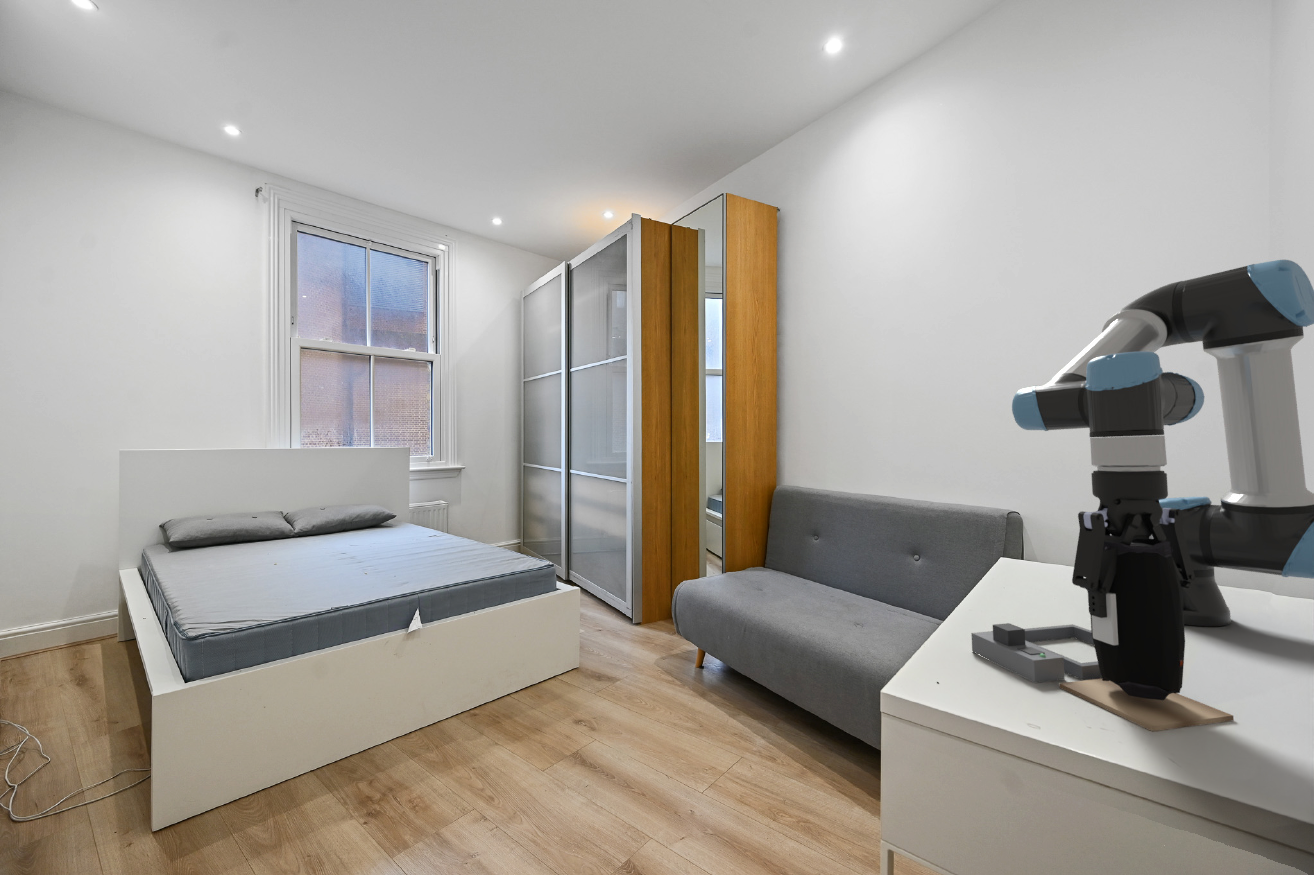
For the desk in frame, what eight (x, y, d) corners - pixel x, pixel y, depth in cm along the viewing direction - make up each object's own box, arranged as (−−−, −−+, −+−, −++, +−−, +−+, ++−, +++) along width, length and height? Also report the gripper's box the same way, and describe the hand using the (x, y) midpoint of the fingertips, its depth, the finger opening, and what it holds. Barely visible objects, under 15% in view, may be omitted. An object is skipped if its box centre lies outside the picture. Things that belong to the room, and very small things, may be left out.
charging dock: (1073, 635, 94) (1072, 624, 94) (1170, 670, 79) (1169, 657, 79) (981, 644, 91) (981, 632, 91) (1064, 682, 76) (1063, 668, 76)
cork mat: (1130, 679, 76) (1130, 675, 76) (1233, 720, 64) (1233, 715, 64) (1059, 687, 74) (1059, 683, 74) (1152, 731, 62) (1151, 726, 62)
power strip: (998, 649, 88) (997, 616, 89) (1064, 679, 77) (1062, 640, 77) (972, 652, 88) (970, 618, 88) (1034, 682, 76) (1032, 643, 76)
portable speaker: (1207, 700, 65) (1197, 543, 66) (1138, 705, 65) (1129, 547, 65) (1139, 671, 74) (1131, 532, 74) (1077, 676, 73) (1069, 536, 74)
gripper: (1163, 465, 76) (1173, 622, 75) (1032, 470, 72) (1040, 635, 71) (1228, 466, 68) (1239, 641, 68) (1084, 472, 65) (1094, 656, 64)
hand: (1137, 638), depth 69 cm, fingers closed on portable speaker, 9 cm apart
